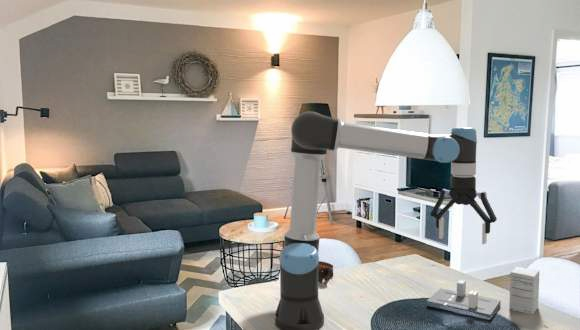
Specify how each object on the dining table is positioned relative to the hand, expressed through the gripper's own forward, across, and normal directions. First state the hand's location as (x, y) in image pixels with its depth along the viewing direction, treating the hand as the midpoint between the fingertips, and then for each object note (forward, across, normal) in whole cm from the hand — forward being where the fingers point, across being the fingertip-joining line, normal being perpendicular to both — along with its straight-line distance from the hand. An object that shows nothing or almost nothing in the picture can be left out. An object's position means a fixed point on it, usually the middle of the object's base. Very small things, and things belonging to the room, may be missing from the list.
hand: (462, 240), depth 157 cm
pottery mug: (+22, +52, +1) cm, 56 cm away
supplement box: (+23, -17, -10) cm, 31 cm away
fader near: (+20, -4, +3) cm, 21 cm away
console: (+22, 0, -1) cm, 23 cm away
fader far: (+20, +1, -5) cm, 21 cm away
